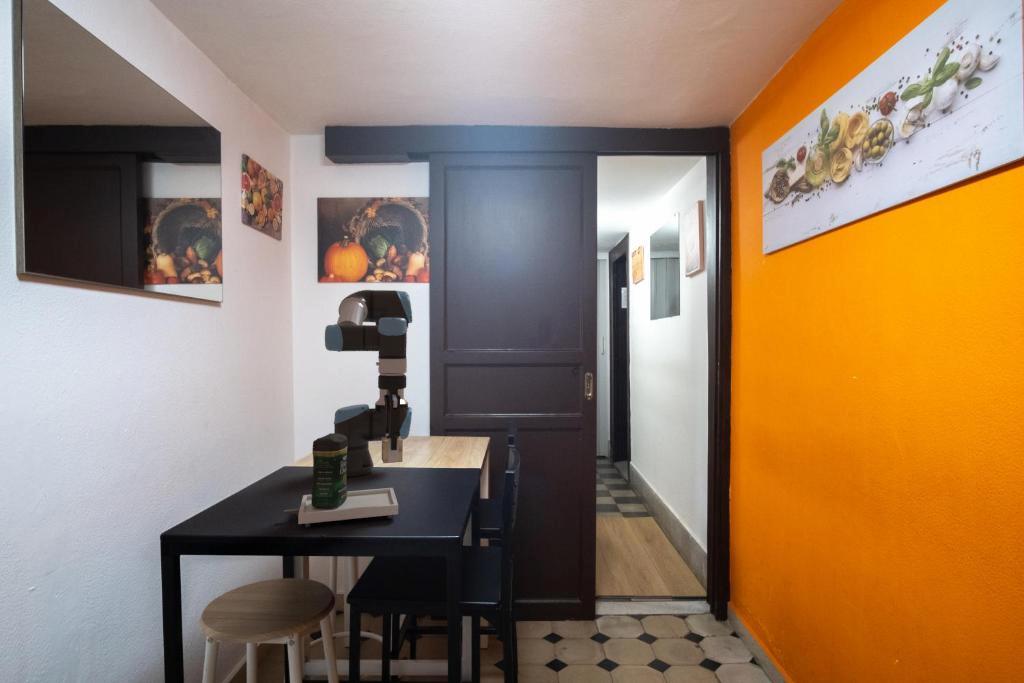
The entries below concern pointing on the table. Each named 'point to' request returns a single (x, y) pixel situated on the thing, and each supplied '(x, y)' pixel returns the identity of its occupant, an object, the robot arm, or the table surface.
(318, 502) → the coffee jar
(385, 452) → the beech block
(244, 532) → the table surface
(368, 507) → the white shallow tray
